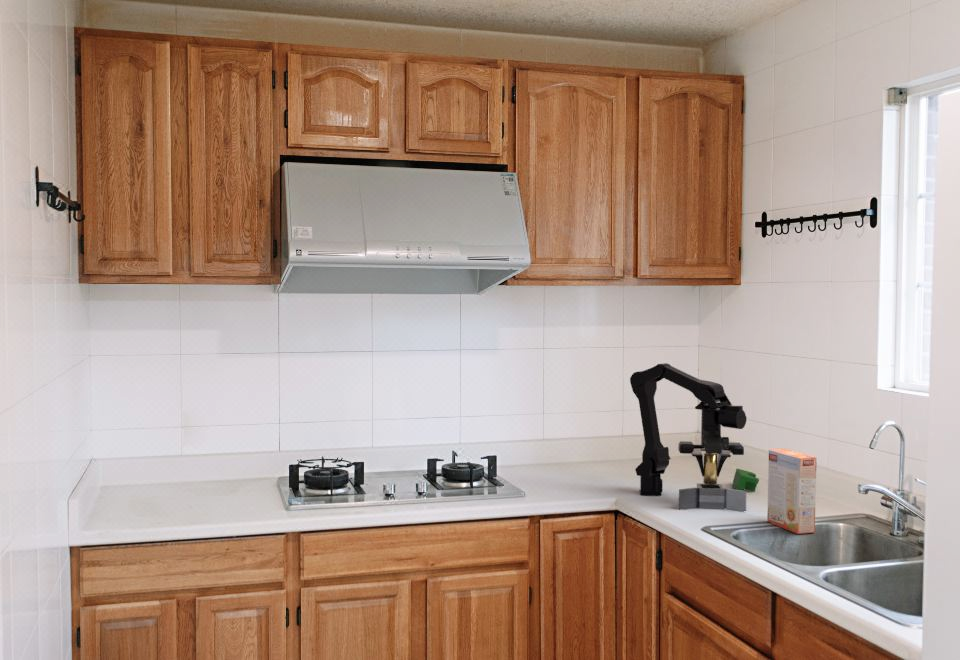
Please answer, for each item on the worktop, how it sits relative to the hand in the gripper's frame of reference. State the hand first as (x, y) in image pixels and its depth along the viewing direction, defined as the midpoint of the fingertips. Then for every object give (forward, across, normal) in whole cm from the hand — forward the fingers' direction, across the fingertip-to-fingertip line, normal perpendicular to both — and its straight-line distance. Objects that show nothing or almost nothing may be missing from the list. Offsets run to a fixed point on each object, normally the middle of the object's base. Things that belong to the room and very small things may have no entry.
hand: (710, 476), depth 272 cm
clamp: (+9, +14, +24) cm, 30 cm away
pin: (+2, 0, 0) cm, 2 cm away
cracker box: (+9, +19, -22) cm, 31 cm away
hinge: (+9, 0, -1) cm, 9 cm away
